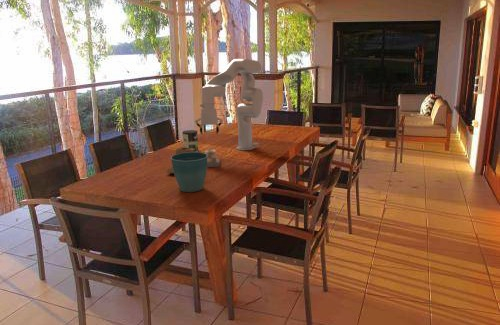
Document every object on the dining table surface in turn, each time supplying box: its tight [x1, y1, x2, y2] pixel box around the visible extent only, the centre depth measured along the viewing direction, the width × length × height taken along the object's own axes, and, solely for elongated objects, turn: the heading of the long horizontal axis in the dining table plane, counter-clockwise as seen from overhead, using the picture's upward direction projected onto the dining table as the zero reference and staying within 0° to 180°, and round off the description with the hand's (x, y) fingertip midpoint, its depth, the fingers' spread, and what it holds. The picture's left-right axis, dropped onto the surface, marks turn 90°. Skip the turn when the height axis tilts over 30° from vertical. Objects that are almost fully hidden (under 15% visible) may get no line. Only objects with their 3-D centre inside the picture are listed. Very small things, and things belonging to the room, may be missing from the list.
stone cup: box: [166, 146, 194, 175], centre depth 248 cm, size 15×12×15 cm
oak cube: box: [204, 149, 217, 162], centre depth 265 cm, size 6×6×6 cm
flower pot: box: [170, 151, 208, 193], centre depth 219 cm, size 18×18×17 cm
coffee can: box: [182, 129, 199, 152], centre depth 302 cm, size 10×10×14 cm
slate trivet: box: [207, 157, 221, 168], centre depth 266 cm, size 10×10×2 cm
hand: (209, 133), depth 276 cm, fingers open, 9 cm apart
